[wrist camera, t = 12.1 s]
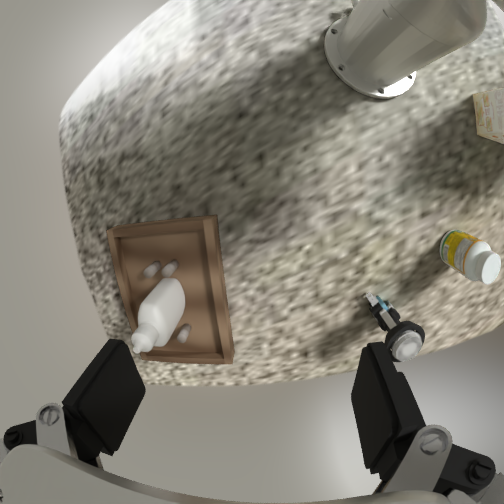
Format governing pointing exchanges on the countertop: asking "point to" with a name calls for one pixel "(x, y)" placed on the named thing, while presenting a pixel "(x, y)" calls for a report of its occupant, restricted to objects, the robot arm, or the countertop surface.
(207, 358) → the pin tray
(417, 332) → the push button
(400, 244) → the countertop surface
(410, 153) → the countertop surface
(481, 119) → the coffeecake box
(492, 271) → the supplement bottle
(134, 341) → the eye dropper bottle
